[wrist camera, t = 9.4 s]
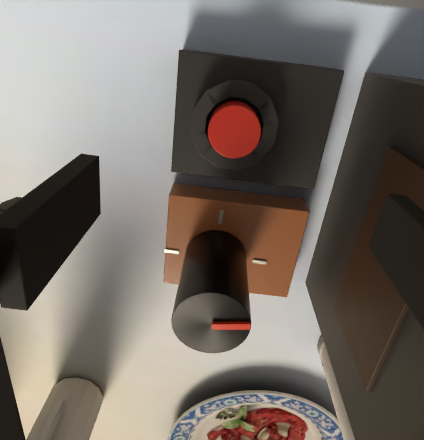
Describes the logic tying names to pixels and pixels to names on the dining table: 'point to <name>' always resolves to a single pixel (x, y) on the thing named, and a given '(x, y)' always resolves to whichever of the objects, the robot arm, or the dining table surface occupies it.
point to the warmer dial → (213, 294)
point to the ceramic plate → (256, 418)
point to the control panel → (239, 231)
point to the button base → (266, 111)
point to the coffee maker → (372, 265)
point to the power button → (234, 129)
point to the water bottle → (68, 411)
